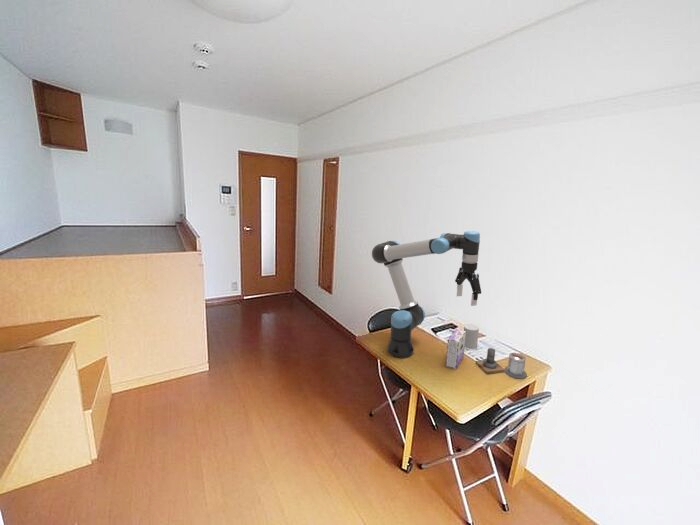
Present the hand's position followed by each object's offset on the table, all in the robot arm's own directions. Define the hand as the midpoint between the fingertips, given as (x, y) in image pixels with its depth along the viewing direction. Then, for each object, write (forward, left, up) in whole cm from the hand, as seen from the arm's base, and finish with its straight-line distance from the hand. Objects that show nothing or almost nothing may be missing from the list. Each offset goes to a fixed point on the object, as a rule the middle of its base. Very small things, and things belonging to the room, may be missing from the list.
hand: (466, 300), depth 162 cm
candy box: (+2, -5, -35) cm, 35 cm away
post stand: (+11, +10, -35) cm, 38 cm away
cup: (-12, +13, -35) cm, 39 cm away
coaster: (+18, +20, -35) cm, 44 cm away
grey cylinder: (+18, +20, -34) cm, 43 cm away
